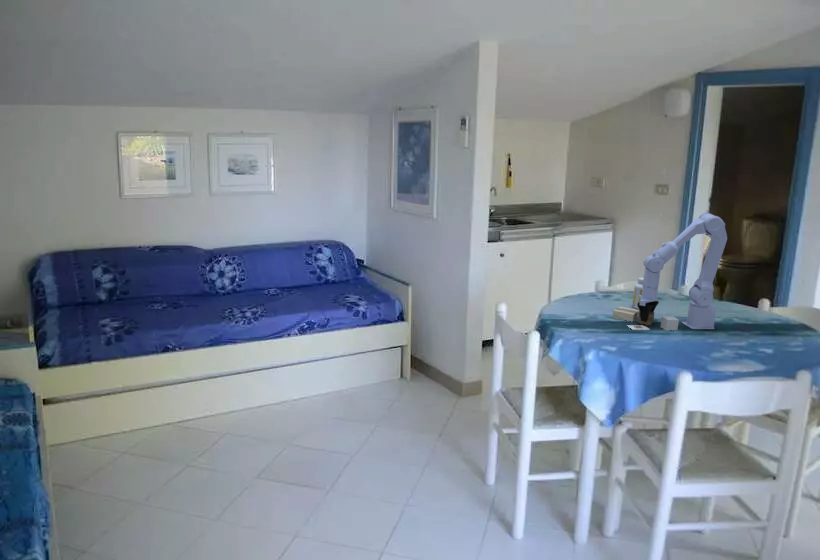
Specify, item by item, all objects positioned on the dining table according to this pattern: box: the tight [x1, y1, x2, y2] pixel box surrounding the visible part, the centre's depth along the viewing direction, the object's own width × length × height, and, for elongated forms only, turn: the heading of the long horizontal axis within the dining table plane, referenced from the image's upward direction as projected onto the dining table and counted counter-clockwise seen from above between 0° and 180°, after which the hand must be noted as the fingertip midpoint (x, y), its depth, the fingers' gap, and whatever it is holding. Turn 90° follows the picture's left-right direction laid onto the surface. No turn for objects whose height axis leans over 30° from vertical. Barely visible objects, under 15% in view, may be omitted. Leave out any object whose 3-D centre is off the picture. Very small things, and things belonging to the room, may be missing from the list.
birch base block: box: [612, 306, 640, 323], centre depth 265 cm, size 8×8×4 cm
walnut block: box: [637, 311, 656, 326], centre depth 259 cm, size 4×4×4 cm
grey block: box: [659, 315, 680, 332], centre depth 253 cm, size 4×4×4 cm
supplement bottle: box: [631, 277, 644, 310], centre depth 279 cm, size 7×7×13 cm
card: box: [626, 324, 650, 331], centre depth 253 cm, size 7×5×1 cm
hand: (645, 319), depth 259 cm, fingers closed on walnut block, 4 cm apart
